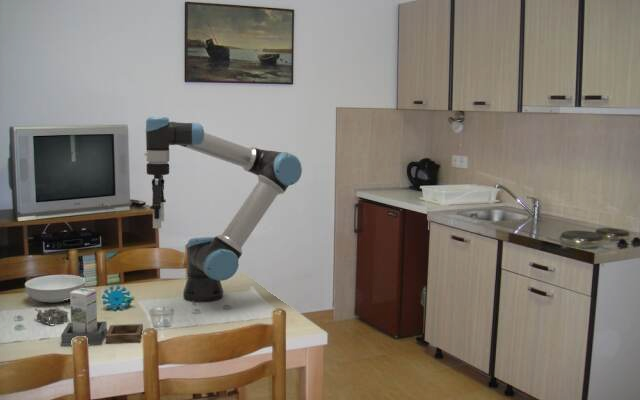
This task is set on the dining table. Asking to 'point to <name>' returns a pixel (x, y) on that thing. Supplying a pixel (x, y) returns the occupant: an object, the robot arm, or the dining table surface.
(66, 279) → the serving bowl
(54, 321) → the grey lumpy mound
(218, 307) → the dining table surface
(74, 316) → the syrup box
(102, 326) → the dark grey square tray
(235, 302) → the dining table surface
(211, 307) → the dining table surface
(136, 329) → the walnut collar
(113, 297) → the gear
